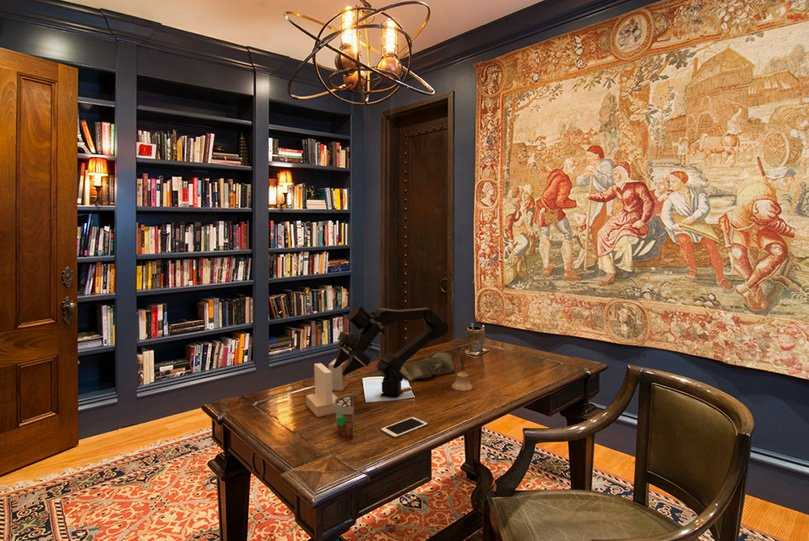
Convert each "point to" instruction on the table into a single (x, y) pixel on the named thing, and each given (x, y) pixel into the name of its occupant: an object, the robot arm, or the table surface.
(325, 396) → the flap
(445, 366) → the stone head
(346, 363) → the small box
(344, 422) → the food container
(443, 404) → the table surface
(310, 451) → the table surface
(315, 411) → the carton
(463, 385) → the hand bell
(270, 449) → the table surface
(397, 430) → the cell phone
